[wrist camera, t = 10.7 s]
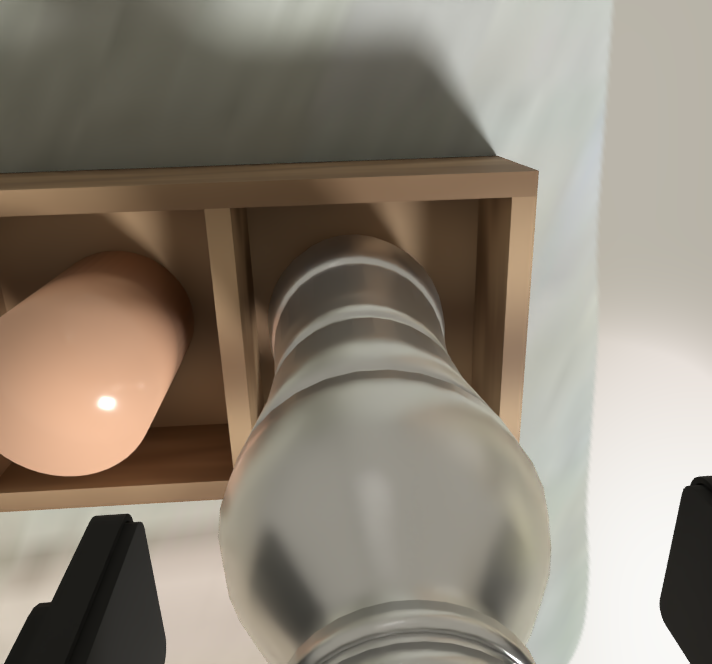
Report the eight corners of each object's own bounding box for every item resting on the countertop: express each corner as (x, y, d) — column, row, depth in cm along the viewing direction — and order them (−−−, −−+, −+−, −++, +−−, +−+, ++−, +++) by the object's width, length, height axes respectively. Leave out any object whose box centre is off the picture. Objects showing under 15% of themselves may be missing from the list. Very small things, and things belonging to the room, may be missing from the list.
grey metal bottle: (309, 397, 27) (282, 1056, 9) (246, 253, 25) (26, 741, 6) (451, 347, 27) (743, 936, 8) (401, 195, 25) (652, 543, 6)
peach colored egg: (38, 253, 25) (-63, 313, 18) (185, 247, 25) (137, 303, 18) (66, 385, 27) (-15, 481, 20) (201, 377, 27) (165, 470, 20)
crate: (-40, 174, 24) (-126, 195, 19) (497, 155, 25) (538, 170, 20) (26, 443, 28) (-32, 513, 23) (484, 419, 29) (516, 482, 24)
